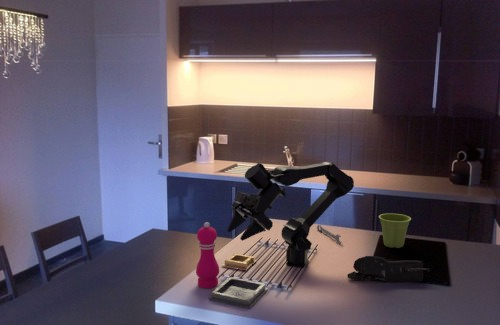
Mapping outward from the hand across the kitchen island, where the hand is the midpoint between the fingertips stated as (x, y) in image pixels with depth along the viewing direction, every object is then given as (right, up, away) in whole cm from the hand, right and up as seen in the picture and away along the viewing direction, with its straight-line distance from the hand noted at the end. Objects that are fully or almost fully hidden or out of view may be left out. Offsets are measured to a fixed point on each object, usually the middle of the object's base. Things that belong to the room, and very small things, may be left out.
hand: (234, 235), depth 142 cm
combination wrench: (+37, -8, +42) cm, 57 cm away
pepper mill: (-8, -15, -3) cm, 17 cm away
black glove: (+49, -15, +1) cm, 51 cm away
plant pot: (+61, -9, +32) cm, 69 cm away
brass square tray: (+1, -12, +13) cm, 18 cm away
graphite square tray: (+2, -16, -10) cm, 19 cm away
